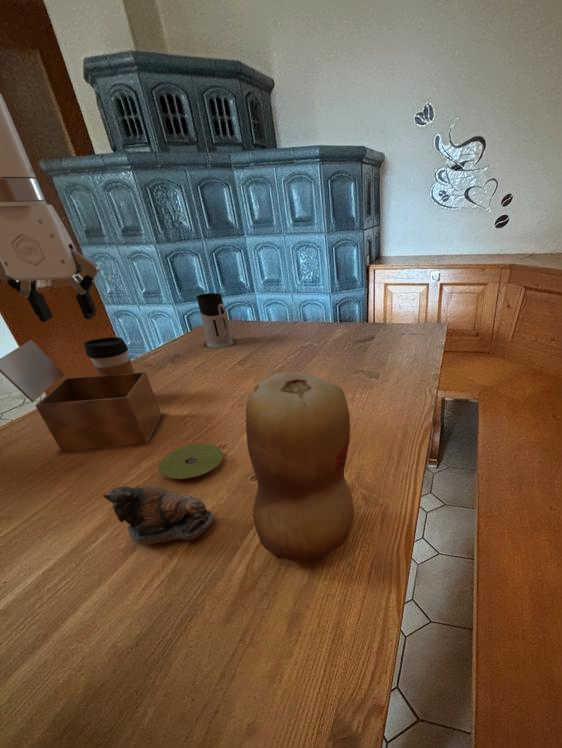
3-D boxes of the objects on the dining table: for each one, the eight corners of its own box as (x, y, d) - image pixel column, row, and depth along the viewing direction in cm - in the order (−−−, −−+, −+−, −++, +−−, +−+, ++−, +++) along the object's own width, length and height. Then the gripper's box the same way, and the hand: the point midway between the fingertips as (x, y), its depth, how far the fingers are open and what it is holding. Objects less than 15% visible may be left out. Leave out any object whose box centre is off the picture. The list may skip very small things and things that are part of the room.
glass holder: (226, 338, 135) (215, 291, 125) (246, 347, 126) (236, 298, 117) (202, 343, 130) (189, 295, 121) (221, 354, 122) (209, 303, 112)
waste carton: (62, 453, 77) (34, 405, 70) (87, 422, 87) (65, 377, 80) (147, 445, 79) (127, 397, 72) (161, 415, 89) (145, 372, 82)
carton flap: (33, 401, 70) (32, 402, 70) (64, 374, 80) (62, 375, 80) (-7, 363, 65) (-9, 364, 65) (31, 339, 75) (29, 340, 75)
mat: (227, 449, 77) (225, 440, 76) (221, 482, 68) (219, 474, 67) (169, 455, 76) (166, 446, 74) (155, 490, 67) (151, 481, 66)
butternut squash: (343, 587, 50) (333, 416, 35) (247, 573, 52) (197, 406, 37) (361, 515, 61) (360, 361, 46) (281, 506, 63) (254, 356, 48)
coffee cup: (102, 403, 94) (74, 342, 85) (135, 391, 100) (111, 332, 91) (120, 412, 90) (93, 348, 81) (153, 399, 96) (131, 338, 87)
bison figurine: (215, 512, 62) (198, 461, 56) (216, 543, 57) (197, 490, 50) (134, 529, 59) (107, 477, 53) (127, 563, 54) (96, 510, 48)
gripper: (-70, 195, 54) (4, 327, 65) (64, 193, 56) (114, 321, 67) (-36, 194, 60) (27, 316, 70) (84, 192, 62) (127, 310, 73)
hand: (68, 317), depth 68 cm, fingers open, 6 cm apart
